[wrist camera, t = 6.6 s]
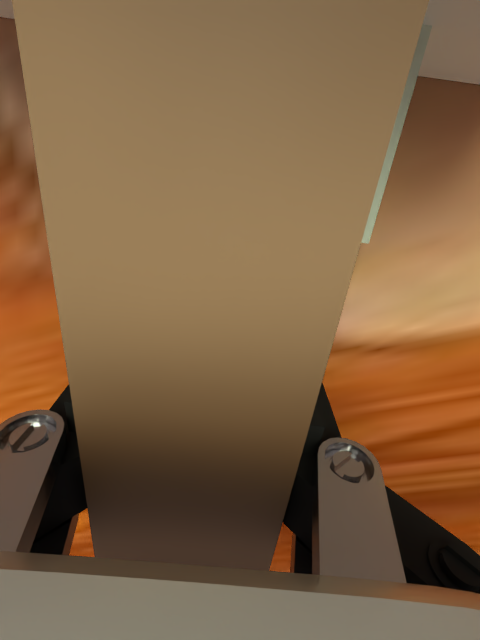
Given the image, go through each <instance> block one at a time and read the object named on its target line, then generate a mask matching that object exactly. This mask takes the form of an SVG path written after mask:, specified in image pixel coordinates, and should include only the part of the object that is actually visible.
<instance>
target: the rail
mask: <svg viewBox="0 0 480 640" xmlns="http://www.w3.org/2000/svg"><path fill="white" fill-rule="evenodd" d="M428 3H429V0H12V5H13V11H14V18H15V25H16V31H17V38H18V45H19V51H20V58H21V65H22V72H23V78H24V85H25V92H26V98H27V105H28V112H29V119H30V125H31V132H32V139H33V145H34V152H35V159H36V165H37V172H38V179H39V186H40V192H41V199H42V206H43V212H44V219H45V226H46V233H47V239H48V246H49V253H50V259H51V266H52V273H53V279H54V286H55V293H56V300H57V306H58V313H59V320H60V326H61V333H62V340H63V346H64V353H65V360H66V367H67V373H68V380H69V387H70V393H71V400H72V407H73V414H74V420H75V427H76V434H77V440H78V447H79V454H80V460H81V467H82V474H83V481H84V487H85V494H86V501H87V507H88V514H89V521H90V527H91V534H92V541H93V548H94V554H95V557H96V558H109V559H122V560H135V561H148V562H162V563H175V564H188V565H200V566H213V567H226V568H239V569H251V570H263V571H269V569H270V565H271V561H272V558H273V554H274V551H275V547H276V544H277V540H278V537H279V533H280V529H281V526H282V522H283V519H284V515H285V512H286V508H287V505H288V501H289V497H290V494H291V490H292V487H293V483H294V480H295V476H296V473H297V469H298V465H299V462H300V458H301V455H302V451H303V448H304V444H305V441H306V437H307V433H308V430H309V426H310V423H311V419H312V416H313V412H314V409H315V405H316V401H317V398H318V394H319V391H320V387H321V384H322V380H323V377H324V373H325V369H326V366H327V362H328V359H329V355H330V352H331V348H332V345H333V341H334V337H335V334H336V330H337V327H338V323H339V320H340V316H341V312H342V309H343V305H344V302H345V298H346V295H347V291H348V288H349V284H350V280H351V277H352V273H353V270H354V266H355V263H356V259H357V256H358V252H359V248H360V245H361V241H362V238H363V234H364V231H365V227H366V224H367V220H368V216H369V213H370V209H371V206H372V202H373V199H374V195H375V192H376V188H377V184H378V181H379V177H380V174H381V170H382V167H383V163H384V160H385V156H386V152H387V149H388V145H389V142H390V138H391V135H392V131H393V128H394V124H395V120H396V117H397V113H398V110H399V106H400V103H401V99H402V96H403V92H404V88H405V85H406V81H407V78H408V74H409V71H410V67H411V64H412V60H413V56H414V53H415V49H416V46H417V42H418V39H419V35H420V32H421V28H422V24H423V21H424V17H425V14H426V10H427V7H428Z"/></svg>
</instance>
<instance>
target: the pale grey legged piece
mask: <svg viewBox="0 0 480 640" xmlns="http://www.w3.org/2000/svg"><path fill="white" fill-rule="evenodd" d="M0 17H4V18H11V19H15V18H14V11H13V5H12V0H0ZM418 76H422V77H429V78H436V79H443V80H450V81H457V82H464V83H471V84H478V85H480V0H429V3H428V7H427V10H426V14H425V17H424V21H423V24H422V28H421V32H420V35H419V39H418V42H417V46H416V49H415V53H414V56H413V60H412V64H411V67H410V71H409V74H408V78H407V81H406V85H405V88H404V92H403V96H402V99H401V103H400V106H399V110H398V113H397V117H396V120H395V124H394V128H393V131H392V135H391V138H390V142H389V145H388V149H387V152H386V156H385V160H384V163H383V167H382V170H381V174H380V177H379V181H378V184H377V188H376V192H375V195H374V199H373V202H372V206H371V209H370V213H369V216H368V220H367V224H366V227H365V231H364V234H363V238H362V241H361V243H368V244H369V241H370V238H371V234H372V231H373V227H374V224H375V221H376V217H377V214H378V210H379V207H380V203H381V200H382V197H383V193H384V190H385V186H386V183H387V179H388V176H389V173H390V169H391V166H392V162H393V159H394V155H395V152H396V149H397V145H398V142H399V138H400V135H401V131H402V128H403V125H404V121H405V118H406V114H407V111H408V107H409V104H410V101H411V97H412V94H413V90H414V87H415V83H416V80H417V77H418Z"/></svg>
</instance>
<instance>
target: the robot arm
mask: <svg viewBox="0 0 480 640" xmlns="http://www.w3.org/2000/svg"><path fill="white" fill-rule="evenodd" d="M86 508H88V507H87V501H86V494H85V487H84V481H83V474H82V467H81V460H80V454H79V447H78V440H77V434H76V427H75V420H74V414H73V407H72V400H71V393H70V387H69V385H68V386H67V387H66V389H65V390H64V391H63V393H62V394H61V395H60V397H59V398H58V399H57V400H56V402H55V403H54V404H53V406H52V407H51V408H50V409H49V410H32V411H27V412H24V413H20V414H17V415H15V416H13V417H11V418H9V419H7V420H5V421H4V422H3V423H1V424H0V640H480V556H479V555H478V554H477V553H476V552H475V551H474V550H472V549H471V548H470V547H469V546H468V545H466V544H465V543H464V542H462V541H461V540H459V539H458V538H457V537H455V536H454V535H453V534H451V533H450V532H448V531H447V530H446V529H444V528H443V527H442V526H440V525H439V524H437V523H436V522H435V521H433V520H432V519H431V518H429V517H428V516H426V515H425V514H424V513H422V512H421V511H420V510H418V509H417V508H415V507H414V506H413V505H411V504H410V503H408V502H407V501H406V500H404V499H403V498H402V497H400V496H399V495H397V494H396V493H395V492H393V491H392V490H391V489H389V488H388V487H386V486H385V484H384V480H383V476H382V471H381V468H380V465H379V463H378V461H377V459H376V458H375V457H374V455H373V454H372V453H371V452H370V451H369V450H368V449H366V448H365V447H364V446H362V445H360V444H359V443H357V442H355V441H352V440H349V439H346V438H341V435H340V432H339V429H338V426H337V424H336V421H335V418H334V415H333V412H332V409H331V406H330V403H329V400H328V398H327V395H326V392H325V389H324V386H323V383H322V384H321V387H320V391H319V394H318V398H317V401H316V405H315V409H314V412H313V416H312V419H311V423H310V426H309V430H308V433H307V437H306V441H305V444H304V448H303V451H302V455H301V458H300V462H299V465H298V469H297V473H296V476H295V480H294V483H293V487H292V490H291V494H290V497H289V501H288V505H287V508H286V512H285V515H284V519H283V523H284V524H285V525H286V526H287V527H288V528H289V529H290V530H291V531H292V532H293V535H292V549H291V567H290V573H288V572H276V571H263V570H251V569H239V568H226V567H213V566H200V565H188V564H175V563H162V562H148V561H135V560H122V559H109V558H96V557H82V556H69V553H70V549H71V545H72V541H73V537H74V533H75V530H76V526H77V522H78V516H79V513H80V512H82V511H83V510H85V509H86Z"/></svg>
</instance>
